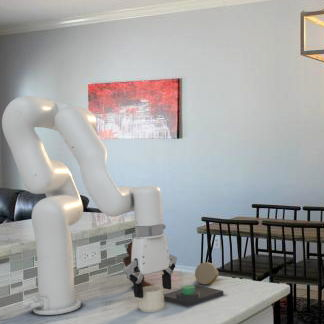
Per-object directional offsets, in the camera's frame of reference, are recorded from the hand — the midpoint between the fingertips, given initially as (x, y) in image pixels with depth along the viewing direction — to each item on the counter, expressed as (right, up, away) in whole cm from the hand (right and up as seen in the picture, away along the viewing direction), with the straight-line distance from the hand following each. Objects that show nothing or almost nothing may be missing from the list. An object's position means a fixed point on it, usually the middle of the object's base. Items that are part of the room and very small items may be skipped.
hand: (153, 292), depth 149 cm
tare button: (+9, -1, +4) cm, 10 cm away
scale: (+10, -4, +10) cm, 14 cm away
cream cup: (0, -4, 0) cm, 4 cm away
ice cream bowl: (-8, -4, +25) cm, 26 cm away
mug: (+13, -3, +27) cm, 30 cm away
